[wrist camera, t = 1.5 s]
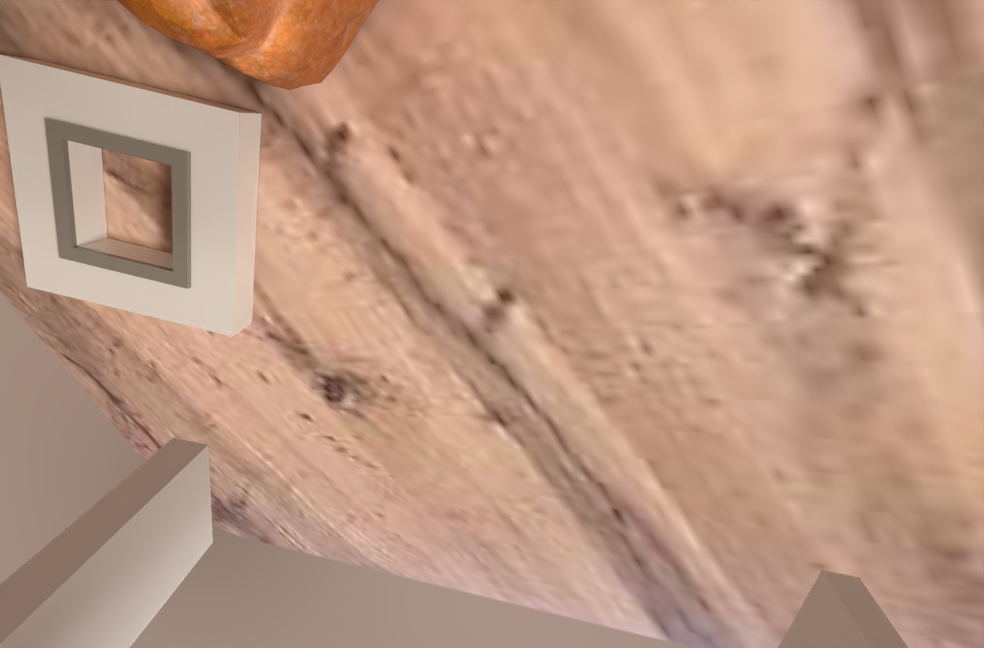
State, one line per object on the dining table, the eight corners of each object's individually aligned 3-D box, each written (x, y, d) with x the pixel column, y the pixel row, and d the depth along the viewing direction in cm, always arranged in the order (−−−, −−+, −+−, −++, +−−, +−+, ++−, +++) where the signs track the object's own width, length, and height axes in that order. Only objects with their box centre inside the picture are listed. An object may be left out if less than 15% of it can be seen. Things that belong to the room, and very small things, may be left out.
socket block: (36, 59, 33) (-11, 53, 30) (261, 113, 33) (235, 112, 30) (59, 276, 38) (21, 288, 36) (251, 323, 38) (229, 338, 36)
